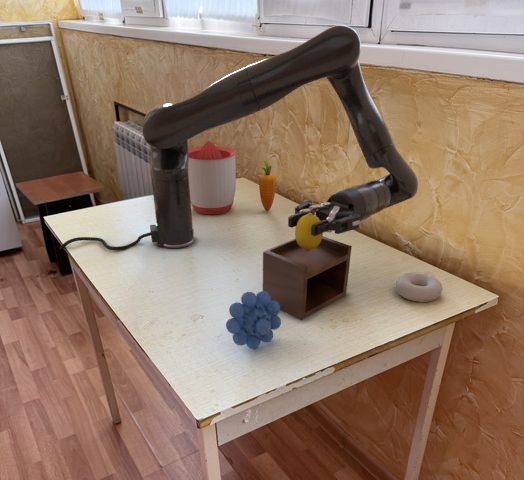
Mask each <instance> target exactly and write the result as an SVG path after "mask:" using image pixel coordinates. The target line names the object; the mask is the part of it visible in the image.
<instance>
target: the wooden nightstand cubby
mask: <svg viewBox="0 0 524 480" xmlns="http://www.w3.org/2000/svg"><path fill="white" fill-rule="evenodd" d="M351 255H352V245H350V244H346V243H344V242H342V241H338V240H335V239H332V238H329V237H326V236H322V240H321V242H320V244H319V245H318V246H317V247H316V248H314V249H311V250H310V251H306V250H305V249H303V248H301V247H300V246H299V245H298V243H297V241H296V238H293V239H290V240H289V241H286V242H283V243H281V244H278V245H275V246H273V247H270V248H269V249H265V250H264V251H262V291H266V292H268V293H269V294H270V296H271V300H274V301H277V302H278V303H279V305H280V312H283V313H285V314H287V315H289V316H291V317H294V318H295V319H298V320H300V321H303V320H305V319H306V318H308V317H310V316H311V315H313V314H315V313H317V312H319V311H320V310H322V309H324V308H326V307H328V306H329V305H331V304H334V303H335V302H337V301H338V300H340V299H342V298H344V297H346V296H347V289H348V280H349V273H350V263H351V257H352V256H351Z"/></svg>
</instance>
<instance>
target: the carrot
mask: <svg viewBox="0 0 524 480" xmlns="http://www.w3.org/2000/svg"><path fill="white" fill-rule="evenodd" d="M263 163H264V166H263V165H261V166H260V168H261V169H263V171H264V172H265V173H262V174H261V175H259V177H258V186H259V196H260V197H259V198H260V201H261V204H262V207H263V209H264V211H265V212H266V213H269V211H270V210H271V208H272V206H273V203H274V200H275V196H276V187H277V177H276V175H275V174H273V173H271V172H272V167H273V164H272V163H271V162H269V164H268V161H267V160H266V159H265V160H264V161H263Z"/></svg>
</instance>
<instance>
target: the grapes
mask: <svg viewBox="0 0 524 480" xmlns="http://www.w3.org/2000/svg"><path fill="white" fill-rule="evenodd" d="M240 301H241V302H237V301H235V302H234V303H232V304H231V305H230V306H229V308H228V310H229V311H228V312H229V315H230V316H231V318H228V319H227V321H226V323H225V328H226V330H227V332H228V333H230V334H232V340H233V342H234V344H235V345H237V346H240V347H241V346H245V345H246V346H247V347H248V348H250V349H252V350H253V349H258V348H259V347H260V345H261V343H269V342H272V341H273V339H274V332H273V331H276V330H278V329H279V328H281V325H282V319H281V317H280V316H278V315H279V314H280V312H281V310H280V305H279V303H278V302H277V301H274V300H271V296H270V294H269V293H268V292H266V291H263V290H262V291H259V292H257V294H256V293H254V292H252V291H246V292H244V293H243V294H242V295H241V297H240Z"/></svg>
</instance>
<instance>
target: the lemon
mask: <svg viewBox="0 0 524 480" xmlns="http://www.w3.org/2000/svg"><path fill="white" fill-rule="evenodd" d="M319 221H320V219H319V218H318V217H316V214H315V215H312V213H308V214H307V215H304V216H302V217H301V218H300V219H299V221H298V222H297V225H296V226H295V230H294V236H295V238H296V241H297V243H298V245H299V246H300V247H301V248H303V249H305V250H306V251H310V250H311V249H314V248H316V247H317V246H318V245H319V244H320V242H321V240H322V236H323V235H324V232H323V233H322V234H319V235H316V236H313V235H311V227H312V225H313V224H315V223H317V222H319ZM295 238H294V239H295Z"/></svg>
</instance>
